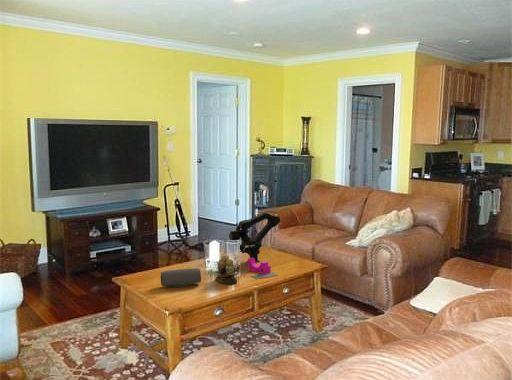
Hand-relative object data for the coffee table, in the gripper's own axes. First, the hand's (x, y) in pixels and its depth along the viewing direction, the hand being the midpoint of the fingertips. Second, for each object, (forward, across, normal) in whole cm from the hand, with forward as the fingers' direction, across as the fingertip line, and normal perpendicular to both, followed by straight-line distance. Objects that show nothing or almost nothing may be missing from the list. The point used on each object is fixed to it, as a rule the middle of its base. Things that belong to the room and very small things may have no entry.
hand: (252, 257), depth 304 cm
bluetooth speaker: (+14, +56, +4) cm, 58 cm away
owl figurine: (+17, +28, +7) cm, 34 cm away
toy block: (+11, 0, +2) cm, 11 cm away
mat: (+18, +2, +9) cm, 20 cm away
